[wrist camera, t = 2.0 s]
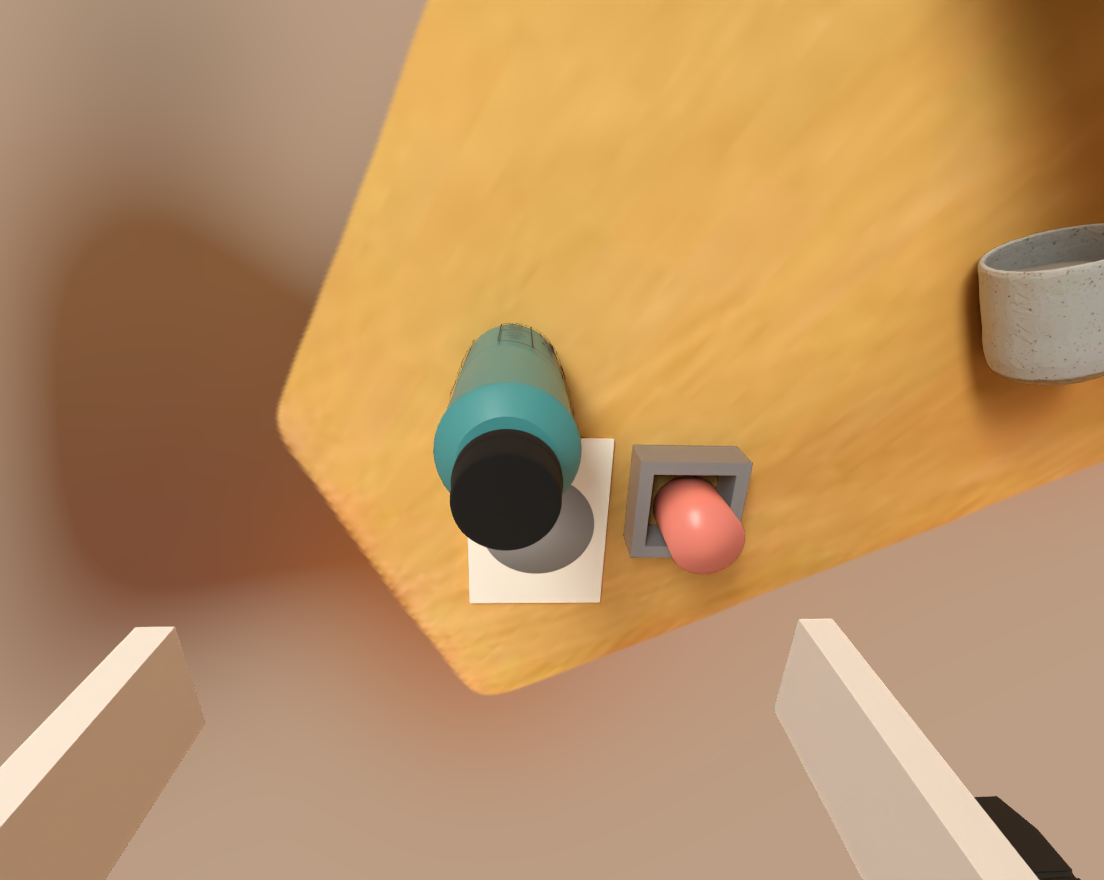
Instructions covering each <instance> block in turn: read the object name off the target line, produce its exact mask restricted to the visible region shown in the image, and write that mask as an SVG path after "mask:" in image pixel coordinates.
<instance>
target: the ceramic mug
mask: <svg viewBox="0 0 1104 880" xmlns="http://www.w3.org/2000/svg"><path fill="white" fill-rule="evenodd" d="M978 276H979V298H980V311H981V321H982V344H983V352H984V355H985V358H986V361H987V364H988V366H989V367H990V369H991V370H992V371H993V372H994V373H996V374H997V375H999V376H1001V377H1003V378H1005V379H1008V380H1011V381H1014V382H1019V383H1024V384H1032V385H1063V384H1072V383H1080V382H1084V381H1088V380H1092V379H1096V378H1099V377H1102V376H1104V223H1100V224H1088V225H1079V226H1073V227H1066V228H1060V229H1055V230H1050V231H1045V232H1040V233H1036V234H1032V235H1029V236H1027V237H1023V238H1020V239H1017V240H1013V241H1010V242H1008V243H1005V244H1003V245H1001V246H998V247H996V248H994V249H992V250H991V251H989V252H987V253H986V254H984V255H983V256H982V258H981V259H980V260H979V263H978Z"/></svg>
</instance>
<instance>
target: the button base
mask: <svg viewBox="0 0 1104 880" xmlns="http://www.w3.org/2000/svg"><path fill="white" fill-rule="evenodd" d="M752 465H753V463H752V462H751V461H750V460H749V459H748V458H747V456H746V455H745V454H744V453H743V452H742V451H741V450H740V449H739V448H738V447H737V446H674V445H633V449H632V458H631V468H630V477H629V487H628V496H627V506H626V515H625V525H624V534H623V536H624V539H625V542H626V545H627V548H628V551H629V554H630V557H631V558H651V557H672V555H671V553H670V551H669V548H668V546H667V544H666V542H665V540H664V537H663V535H662V533H661V531H660V529H659V526H658V525H648V518H649V510H650V502H651V494H652V486H653V478H654V475H719V476H718V481H717V487H716V490H717V491H718V493H719V494H720V495H721V497H722V498H723V499H724V501H725V502H726V503H727V505H728V506H729V507H730V509H731V510H732V512H733V513H734V514H735V516H736V517H737V518H738V520H739V521H740V522H741V518H742V514H743V509H744V504H745V499H746V494H747V489H748V484H749V479H750V475H751V470H752Z"/></svg>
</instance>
